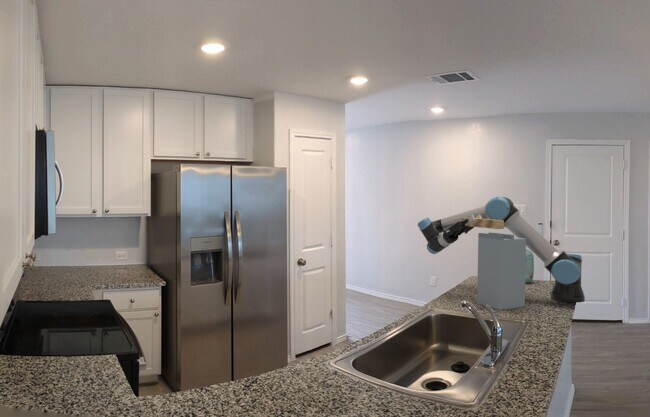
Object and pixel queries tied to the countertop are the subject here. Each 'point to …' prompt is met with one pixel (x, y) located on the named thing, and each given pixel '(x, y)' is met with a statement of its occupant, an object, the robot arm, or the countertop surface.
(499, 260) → the stand
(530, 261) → the lunch box
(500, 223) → the oak block
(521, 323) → the countertop surface
